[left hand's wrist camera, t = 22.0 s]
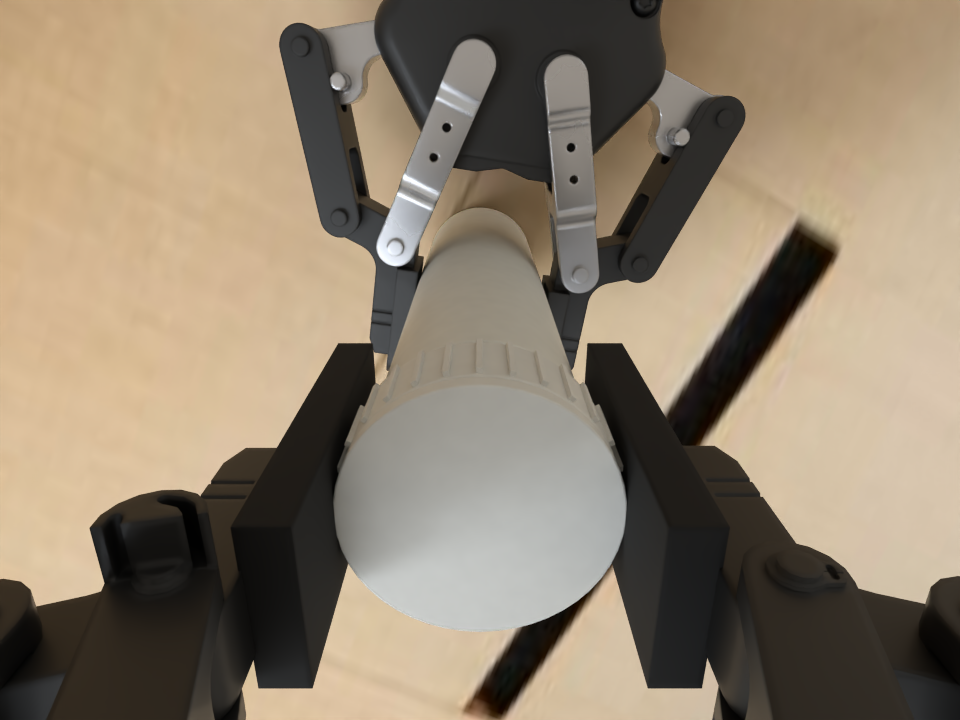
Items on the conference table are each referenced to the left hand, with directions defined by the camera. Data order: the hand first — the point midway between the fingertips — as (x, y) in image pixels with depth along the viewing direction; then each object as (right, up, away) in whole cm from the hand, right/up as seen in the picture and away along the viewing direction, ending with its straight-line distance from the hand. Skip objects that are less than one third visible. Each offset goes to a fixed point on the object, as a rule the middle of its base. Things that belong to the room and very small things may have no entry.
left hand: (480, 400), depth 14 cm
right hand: (0, +1, +8) cm, 8 cm away
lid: (0, -1, -4) cm, 4 cm away
